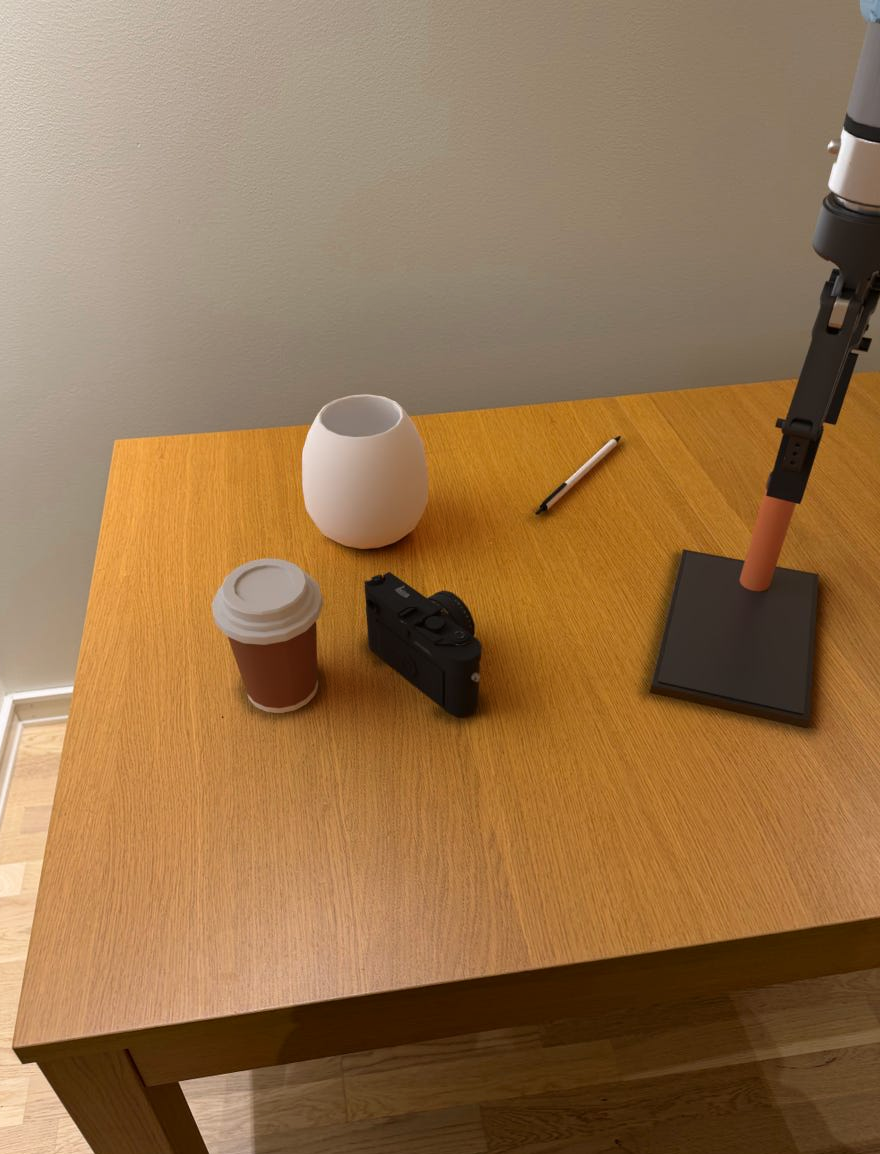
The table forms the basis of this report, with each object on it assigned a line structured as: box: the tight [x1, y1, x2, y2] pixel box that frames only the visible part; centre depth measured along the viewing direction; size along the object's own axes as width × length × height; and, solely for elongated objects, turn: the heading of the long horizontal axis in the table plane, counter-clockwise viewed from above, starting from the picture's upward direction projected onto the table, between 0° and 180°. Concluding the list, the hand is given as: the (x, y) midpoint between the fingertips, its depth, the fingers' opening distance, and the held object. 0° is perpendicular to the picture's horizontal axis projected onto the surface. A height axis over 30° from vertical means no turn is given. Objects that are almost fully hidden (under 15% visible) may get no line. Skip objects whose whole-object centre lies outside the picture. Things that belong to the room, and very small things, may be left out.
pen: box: [535, 435, 622, 516], centre depth 104 cm, size 1×19×1 cm, turn 142°
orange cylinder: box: [740, 470, 797, 592], centre depth 85 cm, size 3×3×12 cm
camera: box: [363, 571, 483, 718], centre depth 81 cm, size 14×7×8 cm, turn 41°
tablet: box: [649, 549, 820, 729], centre depth 85 cm, size 20×13×1 cm, turn 160°
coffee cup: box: [211, 557, 324, 714], centre depth 78 cm, size 9×9×12 cm
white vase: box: [301, 393, 430, 550], centre depth 95 cm, size 13×13×14 cm
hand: (803, 457), depth 79 cm, fingers open, 13 cm apart
